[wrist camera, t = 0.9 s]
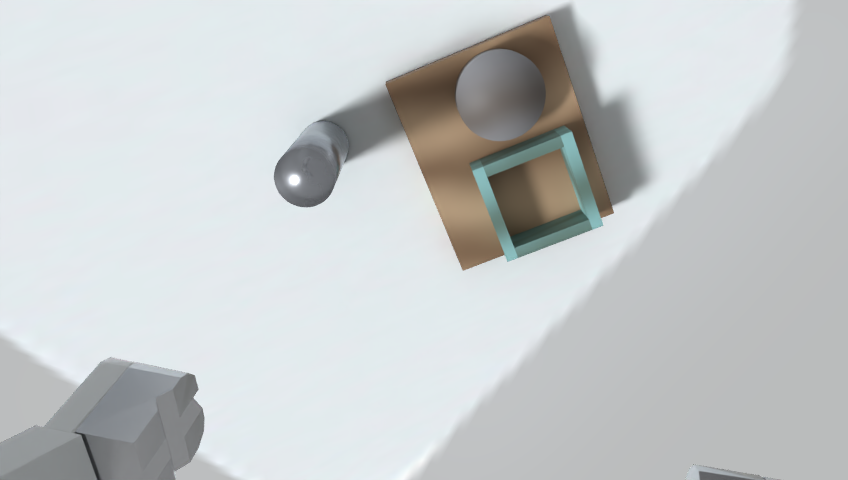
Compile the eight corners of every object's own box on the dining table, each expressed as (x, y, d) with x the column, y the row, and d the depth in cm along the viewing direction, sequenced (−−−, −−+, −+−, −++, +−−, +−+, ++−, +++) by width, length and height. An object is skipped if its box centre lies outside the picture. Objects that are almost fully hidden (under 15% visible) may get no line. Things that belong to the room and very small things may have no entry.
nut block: (386, 81, 49) (384, 88, 45) (545, 15, 48) (556, 16, 44) (461, 263, 54) (465, 283, 50) (608, 207, 52) (623, 223, 49)
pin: (291, 132, 50) (263, 161, 41) (336, 113, 50) (319, 139, 40) (312, 176, 51) (290, 215, 42) (356, 158, 51) (344, 194, 41)
